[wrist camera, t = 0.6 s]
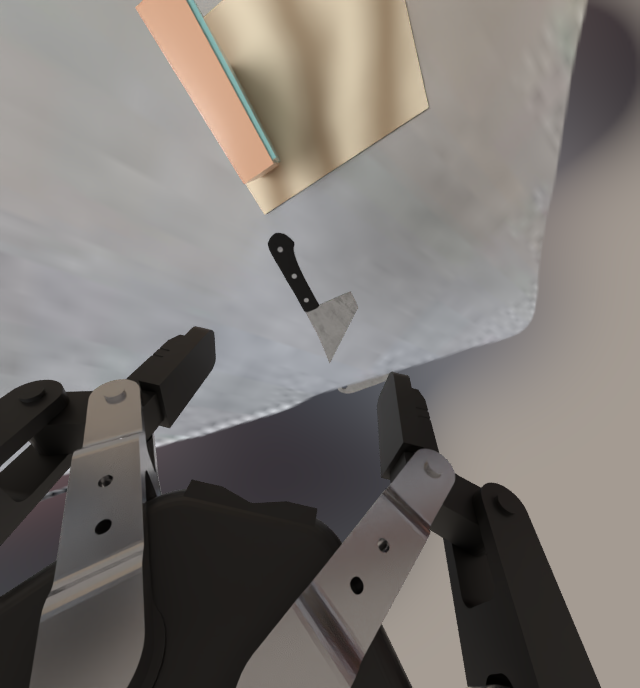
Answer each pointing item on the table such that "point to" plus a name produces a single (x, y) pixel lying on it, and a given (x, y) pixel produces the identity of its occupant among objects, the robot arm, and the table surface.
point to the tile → (211, 84)
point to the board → (320, 80)
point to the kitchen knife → (319, 306)
